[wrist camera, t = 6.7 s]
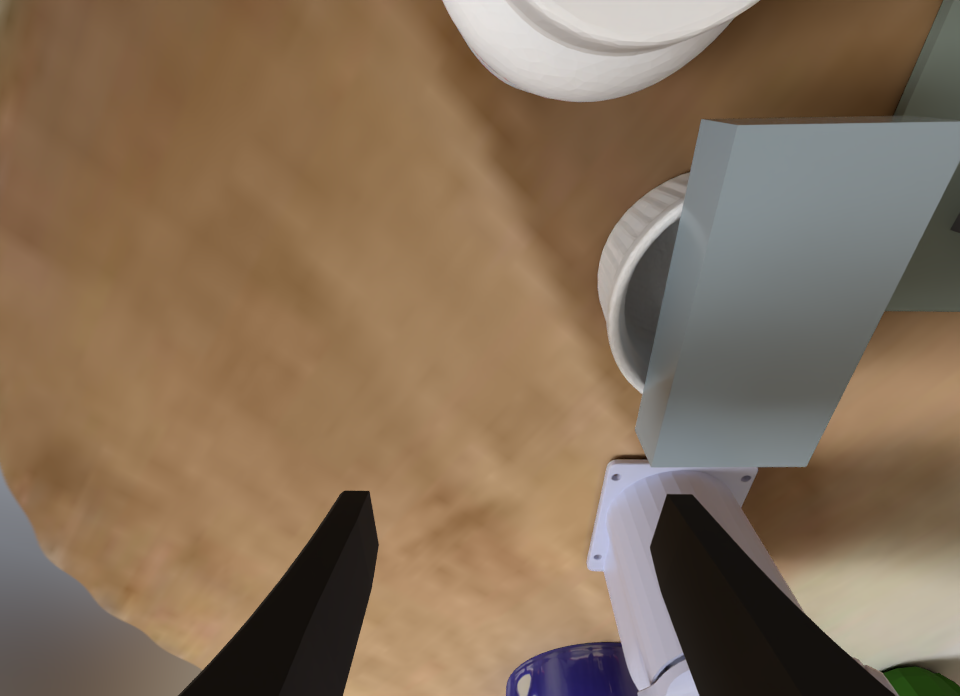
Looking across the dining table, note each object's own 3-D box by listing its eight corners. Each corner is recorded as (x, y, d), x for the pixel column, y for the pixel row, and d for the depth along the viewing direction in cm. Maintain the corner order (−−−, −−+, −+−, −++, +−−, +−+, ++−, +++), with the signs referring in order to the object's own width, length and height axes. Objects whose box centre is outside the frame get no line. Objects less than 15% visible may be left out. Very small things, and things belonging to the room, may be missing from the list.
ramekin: (590, 159, 17) (621, 181, 13) (835, 142, 16) (941, 159, 12) (579, 359, 21) (599, 419, 17) (770, 349, 21) (833, 408, 17)
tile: (774, 429, 18) (806, 466, 16) (634, 430, 18) (651, 467, 16) (908, 115, 12) (979, 121, 10) (701, 119, 12) (738, 124, 10)
